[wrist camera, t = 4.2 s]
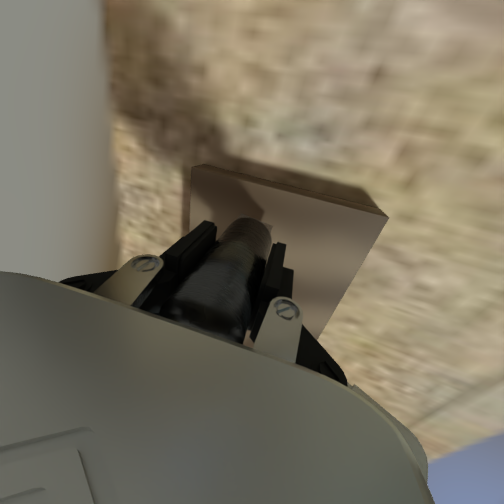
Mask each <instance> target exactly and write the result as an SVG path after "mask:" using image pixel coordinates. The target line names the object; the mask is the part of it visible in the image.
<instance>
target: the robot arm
mask: <svg viewBox="0 0 504 504" xmlns="http://www.w3.org/2000/svg"><path fill="white" fill-rule="evenodd" d="M216 234H217V226H215V223H213V222H210V221H206V220H204V221H203V222H202V223H200V224H199V225H198V226H197V227H196V228H195V229H193V230H192V231H191V232H190V233H189V234H187V235H186V236H185V237H182V238H181V239H180V240H178V241H177V242H176V243H175V244H174V245H172V246H171V247H170V248H169V249H168V250H166V251H165V252H164V253H163V254H162V255H160V256H159V257H158V256H155V255H150V254H145V255H139V256H136V257H133V258H132V259H130V260H129V261H128V262H127V263H126V264H124V265H123V266H122V267H121V268H120V269H119V270H114V271H107V272H101V273H94V274H88V275H81V276H75V277H71V278H67V279H64V280H62V281H60V282H55V281H51V280H48V279H44V278H40V277H35V276H31V275H26V274H21V273H13V272H3V271H0V504H435V502H434V500H433V497H432V495H431V492H430V490H429V488H428V485H427V479H428V462H427V456H426V454H425V452H424V449H423V447H422V445H421V444H420V442H419V441H418V439H417V438H416V436H415V435H414V434H413V433H412V432H411V431H410V430H409V429H408V428H407V427H405V426H404V425H403V424H402V423H401V422H399V421H398V420H397V419H396V418H395V417H393V416H392V415H391V414H390V413H389V412H387V411H386V410H385V409H384V408H383V407H381V406H380V405H379V404H378V403H377V402H375V401H374V400H373V399H372V398H371V397H369V396H368V395H367V394H366V393H365V392H363V391H362V390H361V389H360V388H359V387H357V386H356V385H355V384H354V385H353V386H351V385H350V384H349V383H348V382H347V379H346V377H345V374H344V372H343V371H342V369H341V368H340V366H339V365H338V364H337V363H336V362H335V361H334V360H333V358H332V357H331V356H330V355H329V354H328V353H327V352H326V350H325V349H324V348H323V347H322V346H321V345H320V344H319V342H318V341H317V340H316V339H315V338H314V337H313V336H312V334H311V333H310V332H309V331H308V330H307V329H306V328H305V326H304V325H303V324H302V321H303V311H302V308H301V307H300V306H299V304H298V303H296V302H295V301H294V300H292V291H293V277H294V270H292V269H289V268H286V267H283V264H284V257H285V251H286V245H287V244H284V243H280V242H277V244H275V243H273V244H272V247H271V251H270V254H269V257H268V260H267V264H266V267H265V270H264V273H263V277H262V280H261V284H260V287H259V290H258V294H257V297H256V301H255V304H254V308H253V311H252V315H251V318H250V321H249V325H248V328H247V330H249V331H251V332H250V336H249V338H251V340H252V342H253V343H254V345H253V348H251V347H248V346H245V345H242V344H239V343H236V342H233V341H231V340H228V339H225V338H222V337H219V336H216V335H213V334H211V333H208V332H205V331H202V330H199V329H196V328H193V327H190V326H187V325H184V324H182V323H179V322H176V321H173V320H170V319H167V318H164V317H161V316H159V311H160V308H161V306H162V305H163V304H164V302H165V301H166V300H167V299H168V298H169V296H170V295H171V294H172V293H173V292H174V290H175V289H176V288H177V287H178V286H179V284H180V283H181V282H182V281H183V280H184V279H185V277H186V276H187V275H188V274H189V273H190V271H191V270H192V269H193V268H194V267H195V265H196V264H197V263H198V262H199V261H200V260H201V258H202V257H203V256H204V255H205V254H206V252H207V251H208V250H209V249H210V248H211V246H212V245H213V244H214V243H215V242H216Z"/></svg>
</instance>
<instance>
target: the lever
mask: <svg viewBox="0 0 504 504" xmlns="http://www.w3.org/2000/svg"><path fill="white" fill-rule="evenodd" d="M272 227H273V226H272V225H269V224H267V223H264V222H262V221H259V220H257V219H254V218H252V217H249V216H247V215H244V214H242V213H241V215H240V216H239V217H238V218H237V220H235V221H233V222H232V223H231V224H230V225H229V226H228V227H227V229H226V230H225V231H224V232H223V233H222V235H221V236H220V237H219V238H218V239H217V241H216V242H215V243H214V244H213V245H212V246H211V248H210V249H209V250H208V251H207V252H206V254H205V255H204V256H203V257H202V258H201V260H200V261H199V262H198V263H197V264H196V265H195V267H194V268H193V269H192V270H191V271H190V273H189V274H188V275H187V276H186V277H185V279H184V280H183V281H182V282H181V283H180V284H179V286H178V287H177V288H176V289H175V290H174V292H173V293H172V294H171V295H170V296H169V298H168V299H167V300H166V301H165V302H164V304H163V305H162V306H161V308H160V311H159V316H161V317H164V318H167V319H170V320H173V321H176V322H179V323H182V324H184V325H187V326H190V327H193V328H196V329H199V330H202V331H205V332H208V333H211V334H213V335H216V336H219V337H222V338H225V339H228V340H231V341H233V342H236V343H239V344H242V345H243V342H244V339H245V335H246V332H247V328H248V325H249V321H250V318H251V315H252V311H253V308H254V304H255V301H256V297H257V294H258V290H259V287H260V284H261V280H262V277H263V273H264V270H265V266H266V263H267V259H268V256H269V253H270V249H271V245H272V238H271V234H270V233H271V230H272Z"/></svg>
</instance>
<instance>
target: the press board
mask: <svg viewBox="0 0 504 504" xmlns="http://www.w3.org/2000/svg"><path fill="white" fill-rule="evenodd" d="M241 213H242V214H244V215H247V216H249V217H252V218H254V219H257V220H259V221H262V222H264V223H267V224H269V225H272V226H273V227H272V230H271V233H270V234H271V238H272V244H273V243H275V244H277V242H280V243H284V244H287V245H286V251H285V257H284V264H283V267H286V268H289V269H292V270H294V277H293V291H292V300H294V301H295V302H296V303H298V304H299V306H300V307H301V308H302V311H303V321H302V324H303V325H304V326H305V328H306V329H307V330H308V331H309V332H310V333H311V334H312V336H313V337H314V338H315V339H316V340H317V339H318V338H319V336H320V334H321V333H322V331H323V329H324V328H325V326H326V324H327V322H328V321H329V319H330V317H331V316H332V314H333V312H334V311H335V309H336V307H337V305H338V304H339V302H340V300H341V299H342V297H343V295H344V294H345V292H346V290H347V288H348V287H349V285H350V283H351V282H352V280H353V278H354V277H355V275H356V273H357V271H358V270H359V268H360V266H361V265H362V263H363V261H364V260H365V258H366V256H367V255H368V253H369V251H370V249H371V248H372V246H373V244H374V243H375V241H376V239H377V238H378V236H379V234H380V232H381V231H382V229H383V227H384V226H385V224H386V222H387V221H388V219H389V217H388V216H387V215H386V214H385V213H384V212H382V211H381V210H380V209H379V208H375V207H371V206H367V205H363V204H359V203H355V202H351V201H347V200H343V199H339V198H335V197H331V196H327V195H323V194H319V193H315V192H311V191H308V190H304V189H300V188H296V187H292V186H288V185H284V184H280V183H276V182H272V181H268V180H264V179H260V178H256V177H252V176H248V175H244V174H240V173H236V172H232V171H228V170H224V169H220V168H217V167H213V166H209V165H205V164H202V165H198V166H194V167H192V171H191V198H190V226H189V233H190V232H191V231H192V230H193V229H195V228H196V227H197V226H198V225H199V224H200V223H202V222H203V221H204V220H206V221H210V222H213V223H215V226H217V234H216V241H217V239H218V238H219V237H220V236H221V235H222V233H223V232H224V231H225V230H226V229H227V227H228V226H229V225H230V224H231V223H232V222H233V221H235V220H237V218H238V217H239V216H240V215H241ZM271 247H272V245H271ZM270 251H271V249H270ZM269 254H270V253H269ZM268 257H269V256H268ZM267 260H268V259H267ZM266 264H267V263H266ZM265 267H266V266H265ZM250 332H251V331H249V330H247V332H246V335H245V339H244V342H243V345H245V346H248V347H251V348H253V345H254V343H253V342H252V340H251V338H249V336H250Z"/></svg>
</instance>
